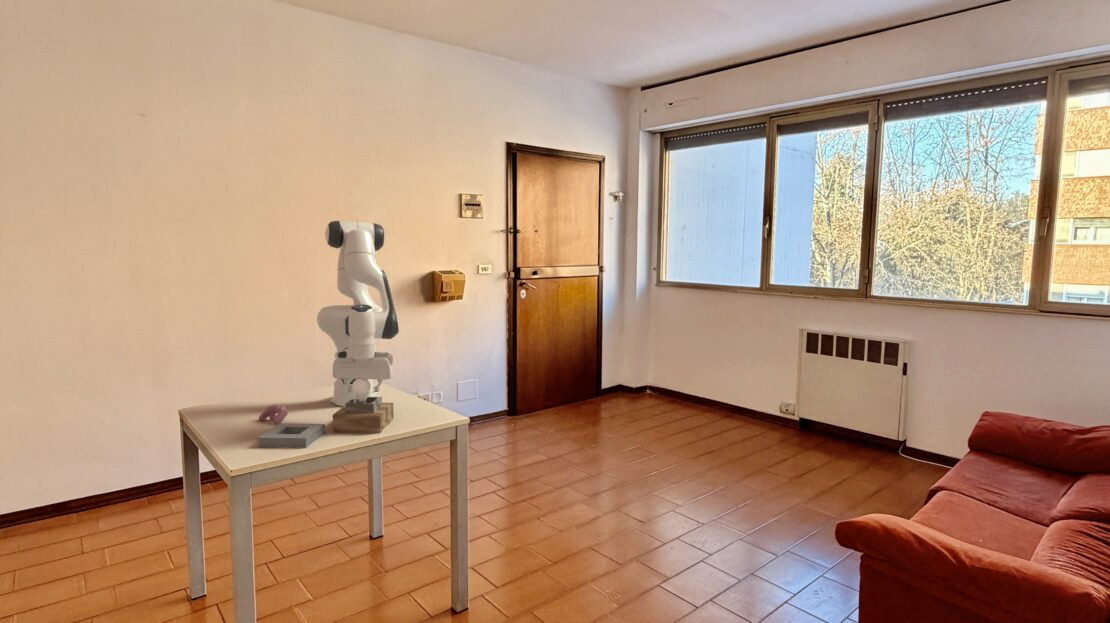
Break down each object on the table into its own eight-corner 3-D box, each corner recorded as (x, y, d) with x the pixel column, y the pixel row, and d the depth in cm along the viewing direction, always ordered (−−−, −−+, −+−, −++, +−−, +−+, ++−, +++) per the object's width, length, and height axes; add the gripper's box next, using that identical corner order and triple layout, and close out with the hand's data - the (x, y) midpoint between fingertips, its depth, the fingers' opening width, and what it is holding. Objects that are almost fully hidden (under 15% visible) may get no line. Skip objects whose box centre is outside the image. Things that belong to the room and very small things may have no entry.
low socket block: (280, 431, 201) (280, 423, 201) (325, 432, 201) (324, 423, 201) (258, 446, 187) (257, 437, 186) (306, 447, 186) (306, 438, 186)
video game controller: (285, 427, 212) (292, 407, 214) (274, 424, 208) (281, 404, 210) (267, 422, 216) (274, 404, 218) (256, 420, 213) (263, 401, 215)
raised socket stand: (349, 418, 218) (349, 394, 217) (393, 418, 218) (393, 394, 217) (333, 432, 202) (332, 406, 201) (380, 432, 202) (379, 406, 201)
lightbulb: (348, 410, 207) (347, 379, 205) (359, 405, 213) (359, 375, 211) (364, 412, 205) (363, 380, 203) (375, 407, 211) (374, 376, 209)
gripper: (395, 350, 210) (395, 389, 211) (337, 350, 210) (338, 388, 212) (390, 354, 204) (390, 393, 205) (330, 353, 204) (331, 393, 205)
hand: (363, 391), depth 208 cm, fingers open, 8 cm apart
